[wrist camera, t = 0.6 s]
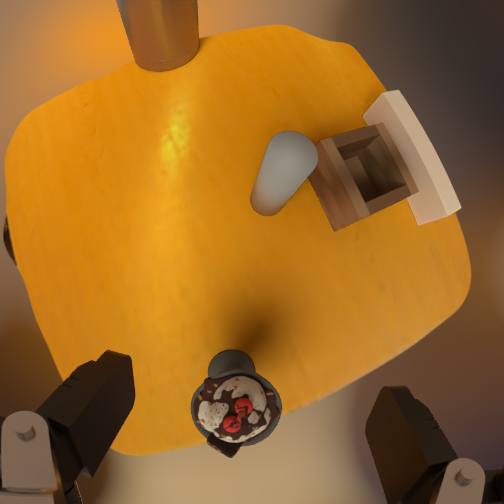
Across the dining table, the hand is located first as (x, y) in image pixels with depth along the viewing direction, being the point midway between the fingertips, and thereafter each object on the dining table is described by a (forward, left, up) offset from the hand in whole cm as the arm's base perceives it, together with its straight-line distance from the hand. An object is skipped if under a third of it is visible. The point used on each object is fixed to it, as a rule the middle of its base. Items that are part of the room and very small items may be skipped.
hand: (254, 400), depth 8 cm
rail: (-8, +27, -22) cm, 36 cm away
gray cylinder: (-10, +9, -22) cm, 25 cm away
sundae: (+5, -2, -22) cm, 23 cm away
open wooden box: (-8, +18, -22) cm, 29 cm away
